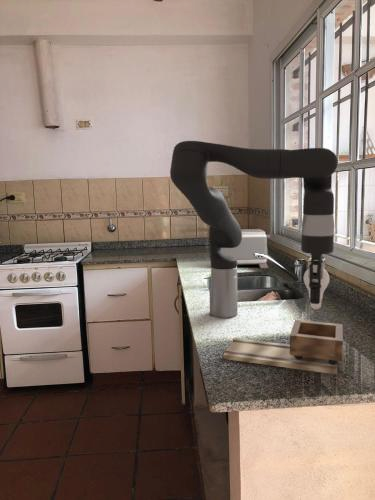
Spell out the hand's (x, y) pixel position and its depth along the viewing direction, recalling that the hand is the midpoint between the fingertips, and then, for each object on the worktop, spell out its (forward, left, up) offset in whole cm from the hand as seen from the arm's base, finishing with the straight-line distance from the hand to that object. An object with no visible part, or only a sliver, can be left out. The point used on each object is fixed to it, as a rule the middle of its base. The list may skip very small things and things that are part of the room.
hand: (315, 299), depth 97 cm
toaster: (-48, +120, -17) cm, 131 cm away
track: (-8, 0, -16) cm, 18 cm away
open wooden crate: (+1, 0, -14) cm, 14 cm away
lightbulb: (0, 0, -3) cm, 3 cm away
